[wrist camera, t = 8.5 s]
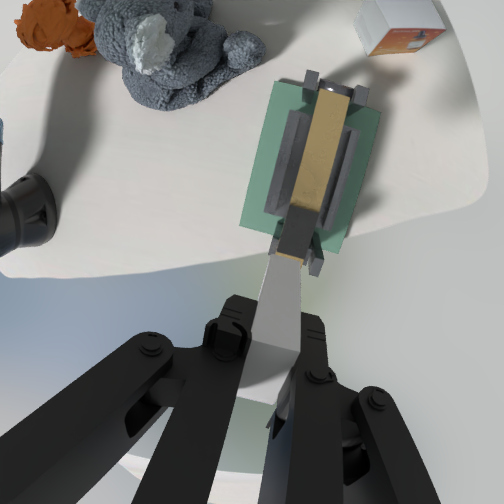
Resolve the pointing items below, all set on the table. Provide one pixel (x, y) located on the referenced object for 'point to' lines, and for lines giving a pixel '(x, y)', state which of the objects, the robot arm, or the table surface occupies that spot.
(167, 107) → the koala plush
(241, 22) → the table surface
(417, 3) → the small box
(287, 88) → the board
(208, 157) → the table surface
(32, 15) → the orange tall rounded piece
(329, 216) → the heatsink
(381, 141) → the table surface
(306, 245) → the tan and black bar
